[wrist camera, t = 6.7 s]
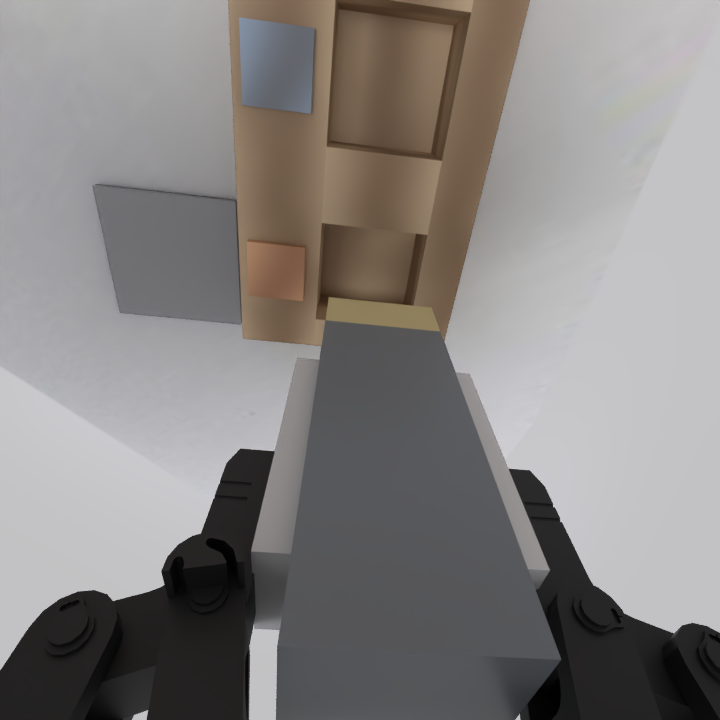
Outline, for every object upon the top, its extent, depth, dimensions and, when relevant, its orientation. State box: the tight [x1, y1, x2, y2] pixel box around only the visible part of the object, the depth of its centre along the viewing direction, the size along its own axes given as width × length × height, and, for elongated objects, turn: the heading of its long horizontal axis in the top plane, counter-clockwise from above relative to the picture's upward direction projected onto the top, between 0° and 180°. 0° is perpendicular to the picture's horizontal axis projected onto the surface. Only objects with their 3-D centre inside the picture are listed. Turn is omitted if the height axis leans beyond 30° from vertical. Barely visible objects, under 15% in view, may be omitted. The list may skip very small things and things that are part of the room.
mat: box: [93, 184, 242, 324], centre depth 26 cm, size 8×8×1 cm
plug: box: [276, 297, 561, 720], centre depth 12 cm, size 4×4×12 cm
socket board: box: [228, 0, 530, 346], centre depth 22 cm, size 12×18×4 cm, turn 174°
